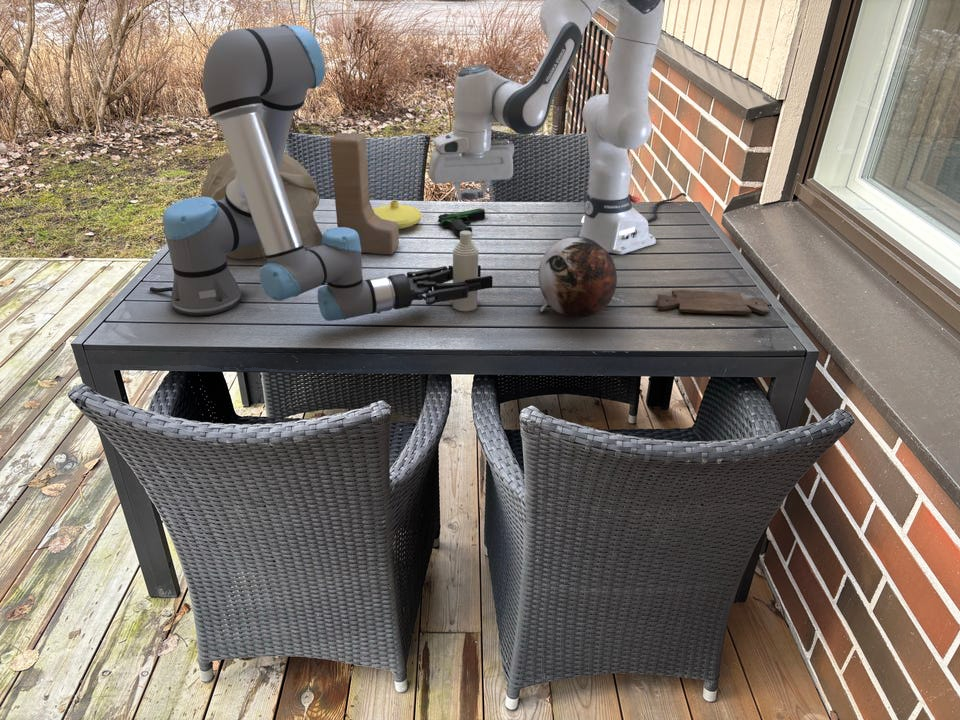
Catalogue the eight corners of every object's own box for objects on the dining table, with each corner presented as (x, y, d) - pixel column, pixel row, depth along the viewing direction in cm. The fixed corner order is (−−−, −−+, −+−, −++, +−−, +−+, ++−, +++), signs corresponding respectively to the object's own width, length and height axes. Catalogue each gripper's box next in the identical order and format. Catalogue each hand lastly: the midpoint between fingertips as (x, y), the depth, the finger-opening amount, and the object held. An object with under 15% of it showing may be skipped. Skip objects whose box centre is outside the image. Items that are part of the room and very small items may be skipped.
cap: (479, 195, 175) (479, 189, 174) (478, 200, 172) (478, 193, 171) (464, 194, 176) (464, 188, 175) (462, 199, 172) (462, 193, 171)
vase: (376, 214, 219) (375, 191, 216) (426, 217, 218) (426, 194, 214) (362, 232, 206) (360, 208, 202) (415, 235, 204) (415, 212, 201)
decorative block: (393, 255, 191) (387, 142, 176) (339, 251, 193) (328, 139, 178) (399, 245, 198) (394, 134, 183) (347, 241, 200) (337, 132, 184)
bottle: (476, 311, 164) (478, 237, 155) (452, 311, 164) (452, 236, 155) (477, 300, 169) (478, 228, 160) (453, 300, 169) (453, 227, 160)
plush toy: (515, 268, 172) (574, 208, 164) (568, 314, 177) (628, 258, 168) (511, 307, 153) (577, 241, 144) (571, 357, 157) (638, 296, 149)
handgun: (453, 229, 202) (431, 211, 213) (453, 239, 203) (431, 221, 214) (503, 222, 208) (480, 205, 219) (502, 231, 210) (479, 214, 221)
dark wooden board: (652, 295, 173) (658, 314, 165) (653, 289, 172) (659, 307, 164) (760, 298, 172) (772, 317, 163) (761, 291, 171) (774, 310, 162)
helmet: (337, 253, 194) (330, 140, 179) (228, 274, 179) (210, 153, 164) (298, 224, 213) (288, 120, 198) (196, 241, 198) (178, 130, 183)
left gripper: (378, 291, 166) (469, 275, 174) (405, 326, 151) (503, 307, 160) (376, 261, 162) (469, 246, 170) (403, 294, 147) (504, 276, 156)
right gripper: (510, 135, 172) (507, 192, 179) (427, 139, 167) (427, 197, 174) (518, 142, 167) (515, 200, 174) (433, 146, 162) (433, 205, 169)
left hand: (485, 276), depth 165 cm, fingers closed on bottle, 6 cm apart
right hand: (471, 198), depth 174 cm, fingers closed on cap, 4 cm apart
